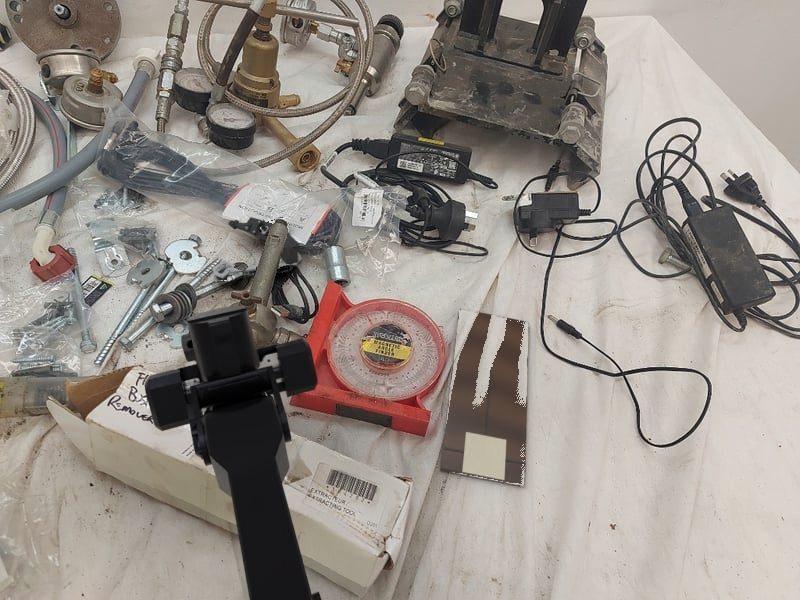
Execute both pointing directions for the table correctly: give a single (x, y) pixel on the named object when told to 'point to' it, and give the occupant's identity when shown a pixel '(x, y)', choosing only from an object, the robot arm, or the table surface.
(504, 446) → the board
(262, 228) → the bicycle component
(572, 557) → the table surface
